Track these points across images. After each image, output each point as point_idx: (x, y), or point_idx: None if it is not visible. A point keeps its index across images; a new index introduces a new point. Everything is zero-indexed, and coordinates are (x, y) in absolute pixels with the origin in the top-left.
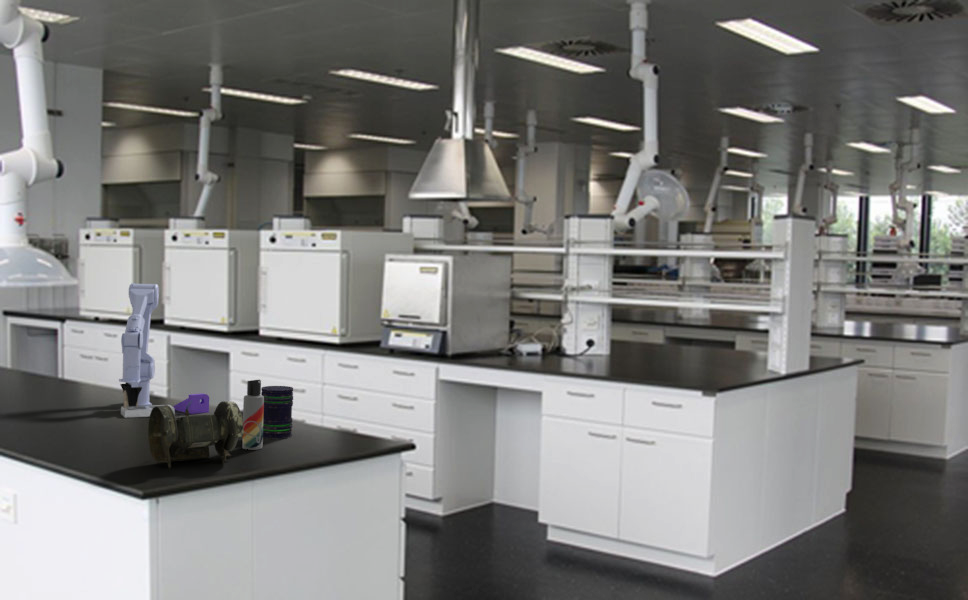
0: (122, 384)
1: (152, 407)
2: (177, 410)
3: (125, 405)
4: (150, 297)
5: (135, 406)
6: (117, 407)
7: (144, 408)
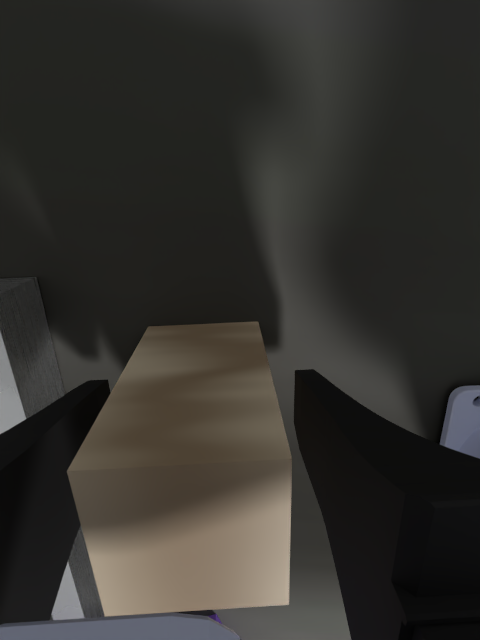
0: (464, 536)
1: None
2: None
3: (139, 354)
4: None
5: None
6: (452, 288)
7: None
